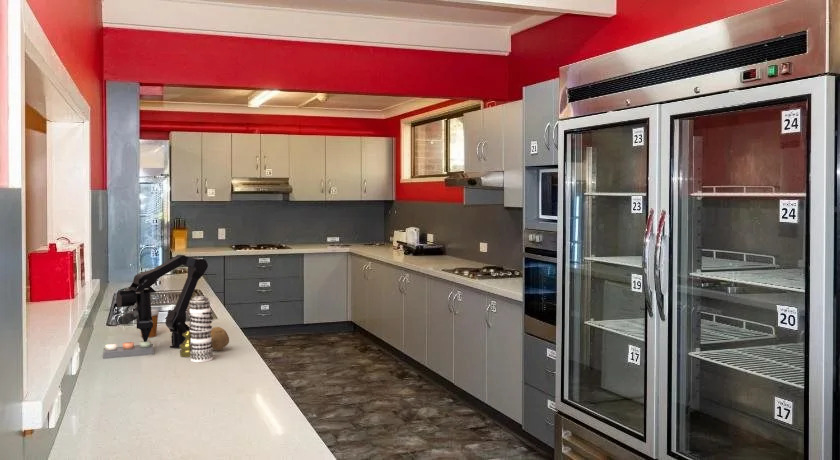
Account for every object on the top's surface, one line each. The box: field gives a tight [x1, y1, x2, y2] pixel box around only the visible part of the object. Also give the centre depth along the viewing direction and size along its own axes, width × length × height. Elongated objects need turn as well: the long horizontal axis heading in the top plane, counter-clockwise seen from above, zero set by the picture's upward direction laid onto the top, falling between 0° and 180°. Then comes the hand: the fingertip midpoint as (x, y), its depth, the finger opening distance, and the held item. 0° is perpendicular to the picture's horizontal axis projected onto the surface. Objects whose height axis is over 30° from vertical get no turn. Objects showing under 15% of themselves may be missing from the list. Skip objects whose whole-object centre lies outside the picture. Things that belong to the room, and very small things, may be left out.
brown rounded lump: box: [211, 326, 230, 352], centre depth 318 cm, size 9×9×10 cm
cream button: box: [104, 342, 118, 351], centre depth 311 cm, size 4×4×2 cm
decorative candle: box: [187, 295, 214, 363], centre depth 302 cm, size 9×9×25 cm
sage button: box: [139, 340, 152, 348], centre depth 316 cm, size 4×4×2 cm
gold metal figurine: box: [179, 331, 192, 358], centre depth 310 cm, size 7×8×10 cm
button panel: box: [102, 343, 155, 360], centre depth 314 cm, size 19×9×2 cm, turn 110°
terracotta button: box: [122, 341, 135, 349], centre depth 314 cm, size 4×4×2 cm
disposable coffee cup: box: [140, 308, 160, 339], centre depth 350 cm, size 10×10×12 cm
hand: (145, 341), depth 316 cm, fingers closed, pressing on sage button
